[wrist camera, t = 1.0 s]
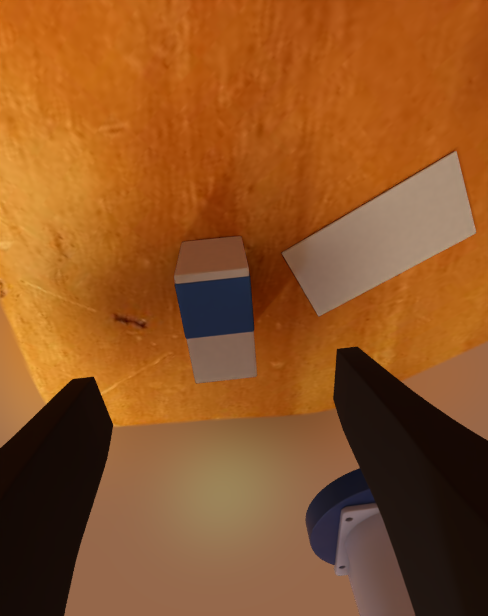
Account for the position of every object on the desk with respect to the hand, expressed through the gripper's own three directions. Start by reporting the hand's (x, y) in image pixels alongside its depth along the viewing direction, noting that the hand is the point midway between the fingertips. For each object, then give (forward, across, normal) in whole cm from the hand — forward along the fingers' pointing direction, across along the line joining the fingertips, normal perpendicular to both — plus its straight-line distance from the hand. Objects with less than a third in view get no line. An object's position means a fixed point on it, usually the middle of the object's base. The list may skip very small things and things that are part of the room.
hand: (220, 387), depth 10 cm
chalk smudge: (+7, -8, -1) cm, 10 cm away
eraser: (+7, 0, 0) cm, 7 cm away
